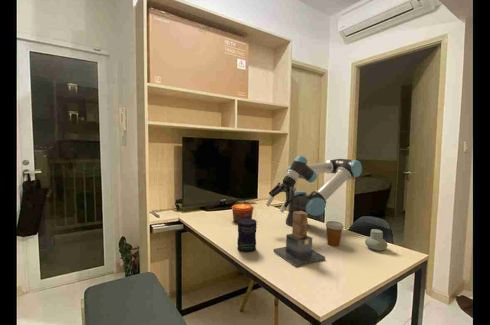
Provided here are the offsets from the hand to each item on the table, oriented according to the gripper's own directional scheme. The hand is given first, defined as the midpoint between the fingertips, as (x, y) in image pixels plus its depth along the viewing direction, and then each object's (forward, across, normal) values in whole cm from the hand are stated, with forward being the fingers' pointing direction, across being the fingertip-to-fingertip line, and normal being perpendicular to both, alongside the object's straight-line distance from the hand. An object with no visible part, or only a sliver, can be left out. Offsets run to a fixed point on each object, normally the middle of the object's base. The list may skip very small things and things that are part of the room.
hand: (273, 208), depth 154 cm
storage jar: (+27, +8, -10) cm, 30 cm away
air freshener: (-9, +42, +41) cm, 59 cm away
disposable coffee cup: (+1, +26, +28) cm, 39 cm away
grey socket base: (+16, +28, +5) cm, 33 cm away
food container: (+15, -35, +10) cm, 39 cm away
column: (+15, +28, +4) cm, 32 cm away
